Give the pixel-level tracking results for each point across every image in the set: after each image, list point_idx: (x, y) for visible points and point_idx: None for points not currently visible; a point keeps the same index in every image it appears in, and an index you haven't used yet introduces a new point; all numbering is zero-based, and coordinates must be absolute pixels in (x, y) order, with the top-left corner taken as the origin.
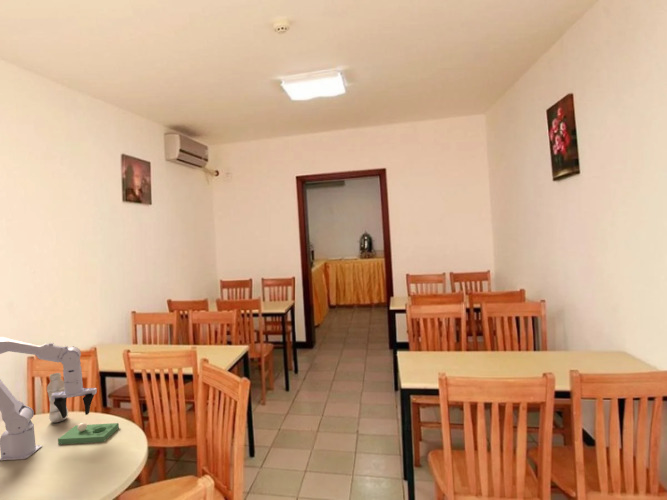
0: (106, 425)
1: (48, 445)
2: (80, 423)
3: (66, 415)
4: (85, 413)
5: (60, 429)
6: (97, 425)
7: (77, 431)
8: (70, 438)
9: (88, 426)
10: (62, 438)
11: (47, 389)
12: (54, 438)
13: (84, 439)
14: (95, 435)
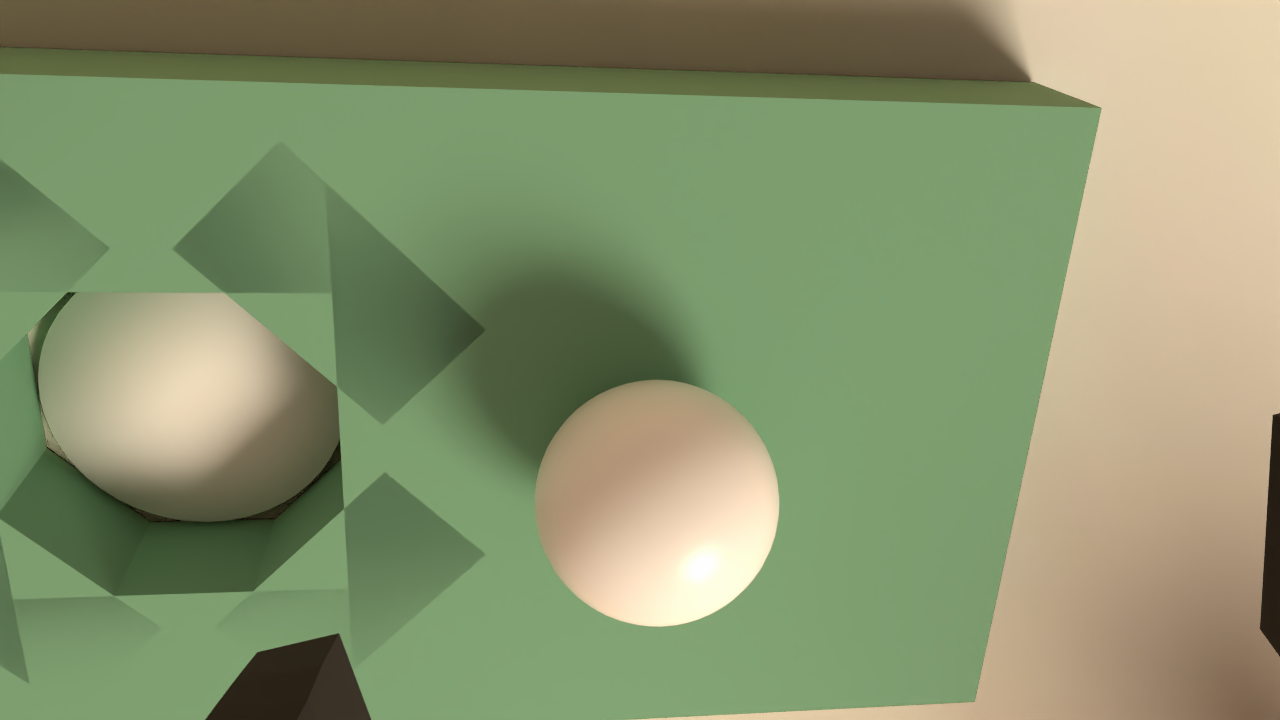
0: (151, 666)
1: (1245, 65)
2: (720, 561)
3: (1271, 615)
4: (309, 675)
5: (1263, 673)
6: (414, 677)
7: (774, 441)
8: (761, 95)
9: (625, 643)
10: (991, 126)
11: None
12: (1238, 357)
13: (357, 77)
14: (63, 172)
